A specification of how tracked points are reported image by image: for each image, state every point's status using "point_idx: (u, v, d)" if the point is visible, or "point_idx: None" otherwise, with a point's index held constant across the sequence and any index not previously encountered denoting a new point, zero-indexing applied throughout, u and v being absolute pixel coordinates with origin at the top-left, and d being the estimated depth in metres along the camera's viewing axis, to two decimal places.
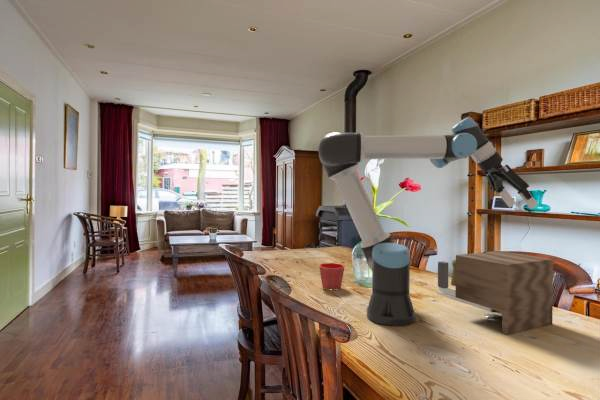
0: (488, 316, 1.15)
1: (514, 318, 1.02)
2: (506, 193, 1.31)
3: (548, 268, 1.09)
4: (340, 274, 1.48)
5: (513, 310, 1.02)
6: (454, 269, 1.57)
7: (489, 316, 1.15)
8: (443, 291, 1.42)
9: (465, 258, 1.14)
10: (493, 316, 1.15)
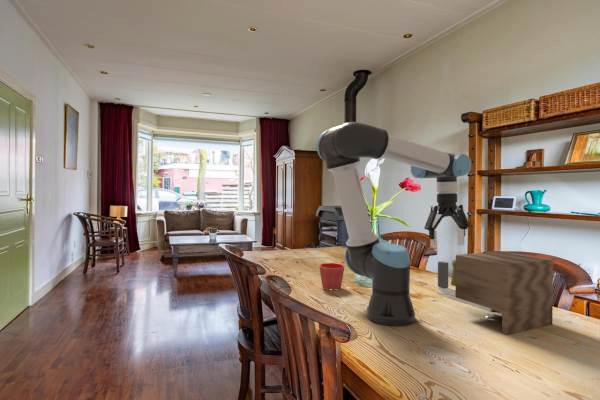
0: (488, 316, 1.15)
1: (514, 318, 1.02)
2: None
3: (548, 268, 1.09)
4: (340, 274, 1.48)
5: (513, 310, 1.02)
6: (454, 269, 1.57)
7: (489, 316, 1.15)
8: (443, 291, 1.42)
9: (465, 258, 1.14)
10: (493, 316, 1.15)
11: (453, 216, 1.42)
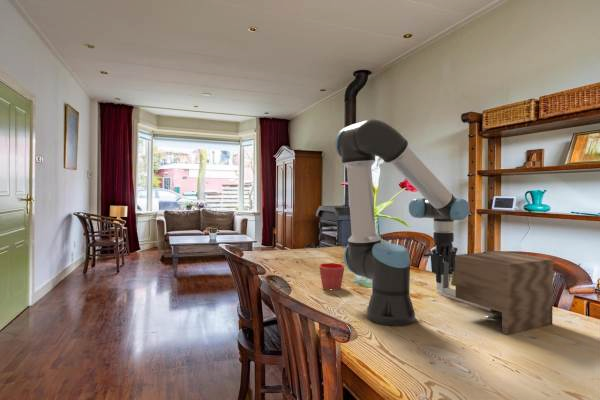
0: (488, 316, 1.15)
1: (514, 318, 1.02)
2: None
3: (548, 268, 1.09)
4: (340, 274, 1.48)
5: (513, 310, 1.02)
6: None
7: (489, 316, 1.15)
8: (443, 291, 1.42)
9: (465, 258, 1.14)
10: (493, 316, 1.15)
11: (445, 256, 1.43)
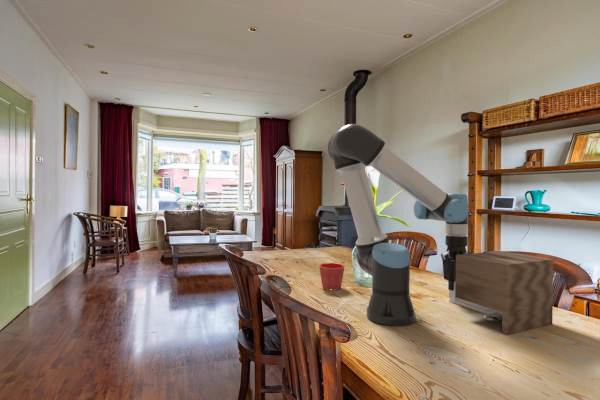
0: (488, 316, 1.14)
1: (514, 318, 1.02)
2: None
3: (548, 268, 1.09)
4: (340, 274, 1.48)
5: (513, 310, 1.02)
6: None
7: (488, 316, 1.14)
8: (456, 298, 1.31)
9: (465, 258, 1.14)
10: (491, 315, 1.15)
11: None
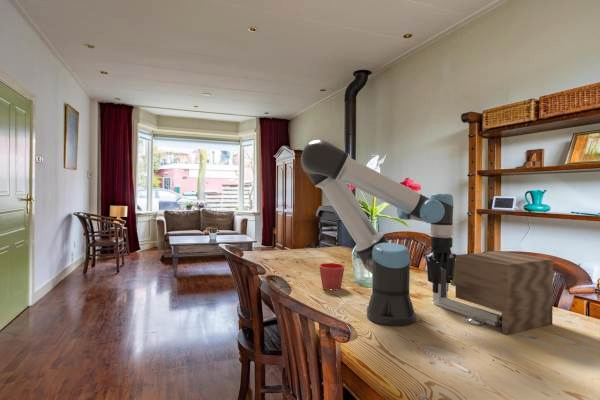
0: (471, 320, 1.11)
1: (514, 318, 1.02)
2: None
3: (548, 268, 1.09)
4: (340, 274, 1.48)
5: (513, 310, 1.02)
6: (454, 269, 1.57)
7: (471, 319, 1.11)
8: None
9: (465, 258, 1.14)
10: (475, 319, 1.11)
11: (443, 263, 1.29)
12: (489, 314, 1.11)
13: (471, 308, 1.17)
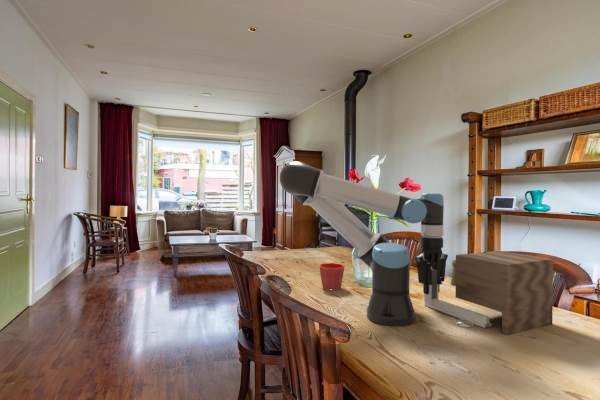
0: (460, 323, 1.09)
1: (514, 318, 1.02)
2: None
3: (548, 268, 1.09)
4: (340, 274, 1.48)
5: (513, 310, 1.02)
6: (454, 269, 1.57)
7: (460, 322, 1.09)
8: None
9: (465, 258, 1.14)
10: (464, 322, 1.09)
11: (434, 264, 1.27)
12: (479, 316, 1.09)
13: (461, 309, 1.14)
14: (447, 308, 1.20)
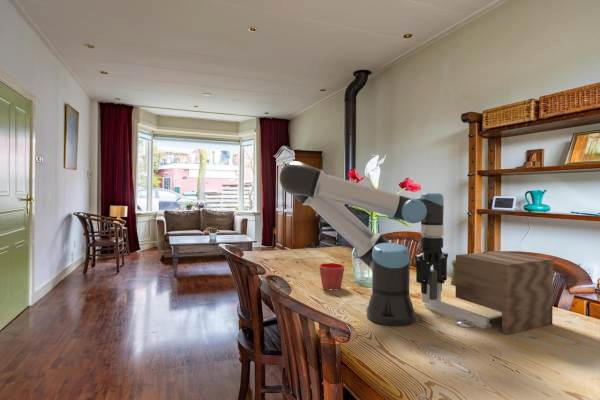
0: (460, 323, 1.09)
1: (514, 318, 1.02)
2: None
3: (548, 268, 1.09)
4: (340, 274, 1.48)
5: (513, 310, 1.02)
6: (454, 269, 1.57)
7: (460, 322, 1.09)
8: (431, 303, 1.26)
9: (465, 258, 1.14)
10: (464, 322, 1.09)
11: (435, 264, 1.27)
12: (479, 317, 1.09)
13: (461, 311, 1.15)
14: (447, 309, 1.20)
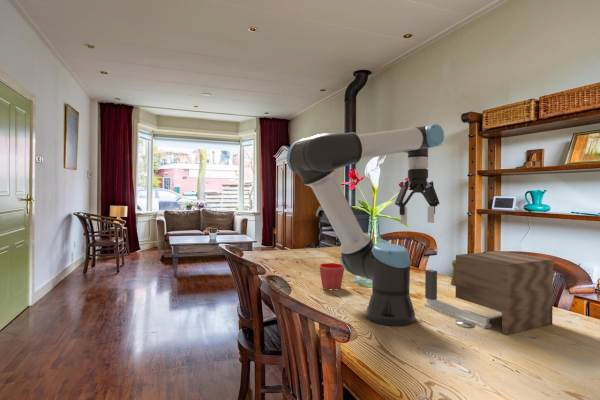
0: (460, 323, 1.09)
1: (514, 318, 1.02)
2: None
3: (548, 268, 1.09)
4: (340, 274, 1.48)
5: (513, 310, 1.02)
6: (454, 269, 1.57)
7: (460, 322, 1.09)
8: (431, 303, 1.26)
9: (465, 258, 1.14)
10: (464, 322, 1.09)
11: (424, 193, 1.40)
12: (479, 317, 1.09)
13: (461, 311, 1.14)
14: (447, 309, 1.20)
